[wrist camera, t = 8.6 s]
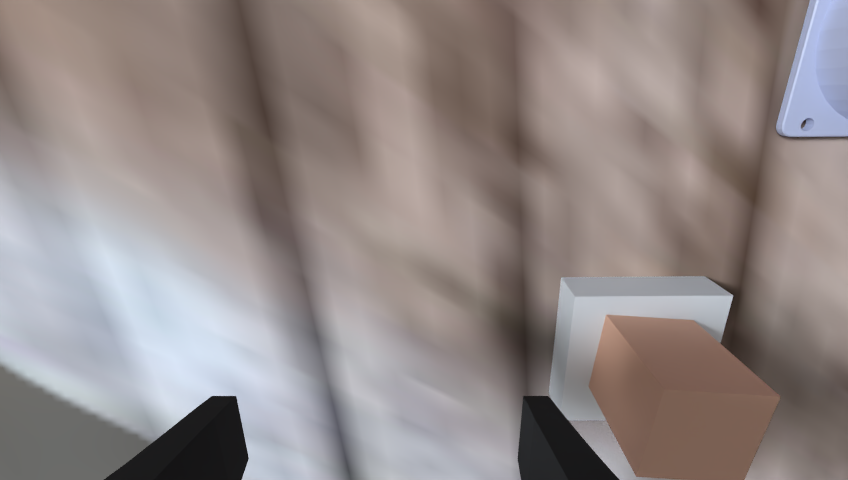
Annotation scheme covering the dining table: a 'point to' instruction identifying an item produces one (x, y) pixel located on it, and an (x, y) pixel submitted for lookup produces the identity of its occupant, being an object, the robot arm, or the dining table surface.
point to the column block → (679, 399)
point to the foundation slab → (624, 296)
